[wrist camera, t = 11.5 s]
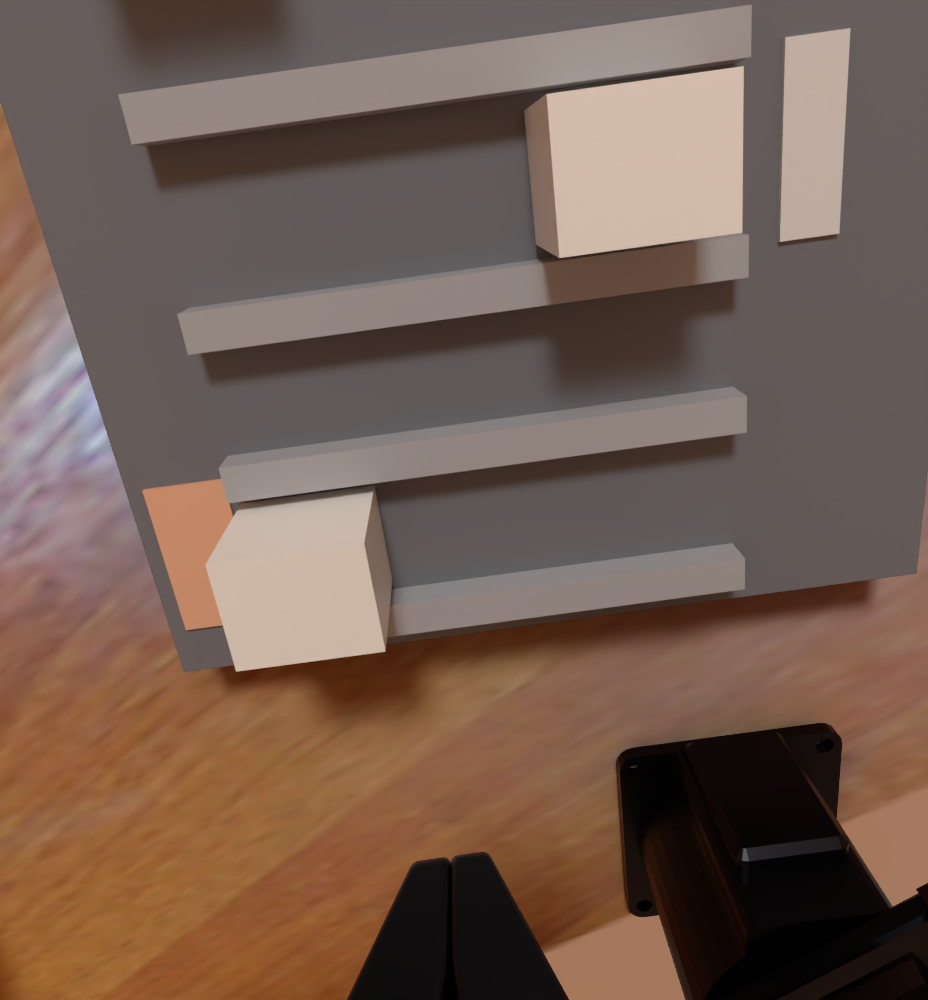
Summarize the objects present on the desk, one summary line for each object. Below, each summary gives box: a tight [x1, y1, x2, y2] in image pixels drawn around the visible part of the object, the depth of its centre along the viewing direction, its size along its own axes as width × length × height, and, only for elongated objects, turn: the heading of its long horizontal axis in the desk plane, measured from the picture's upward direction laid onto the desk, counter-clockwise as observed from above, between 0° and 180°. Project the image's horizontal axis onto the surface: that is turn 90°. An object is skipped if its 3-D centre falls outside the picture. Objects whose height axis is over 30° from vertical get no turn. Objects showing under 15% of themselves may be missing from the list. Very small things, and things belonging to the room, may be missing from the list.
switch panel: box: [0, 0, 928, 672], centre depth 16 cm, size 20×18×3 cm
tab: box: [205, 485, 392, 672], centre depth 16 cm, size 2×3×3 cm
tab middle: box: [524, 66, 744, 258], centre depth 14 cm, size 2×3×3 cm
